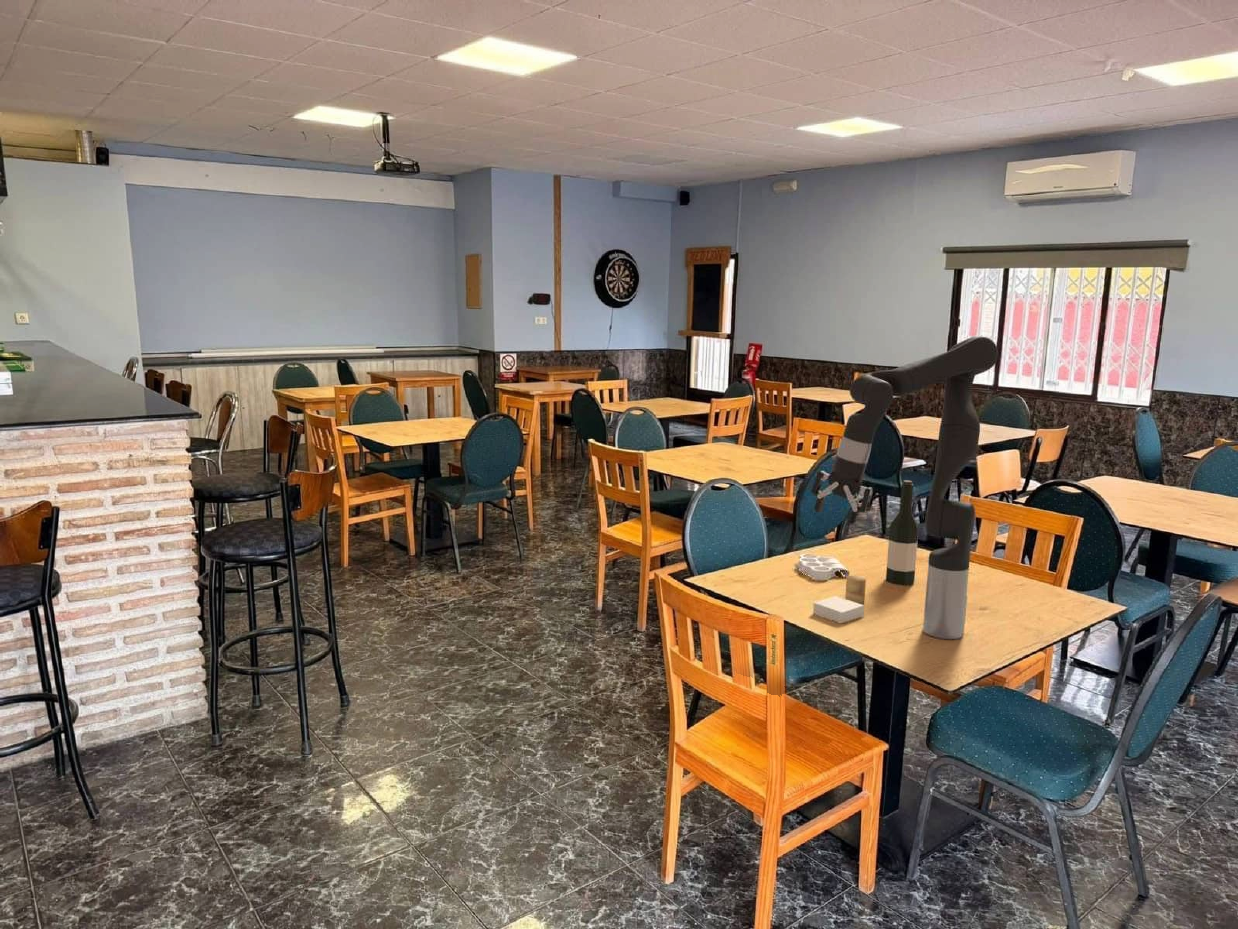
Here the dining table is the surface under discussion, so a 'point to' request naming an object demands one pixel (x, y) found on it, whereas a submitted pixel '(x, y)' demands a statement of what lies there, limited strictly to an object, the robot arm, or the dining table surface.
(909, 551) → the wine bottle
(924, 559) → the dining table surface
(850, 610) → the white base
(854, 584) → the ochre cylinder
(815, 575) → the white holed flat part
